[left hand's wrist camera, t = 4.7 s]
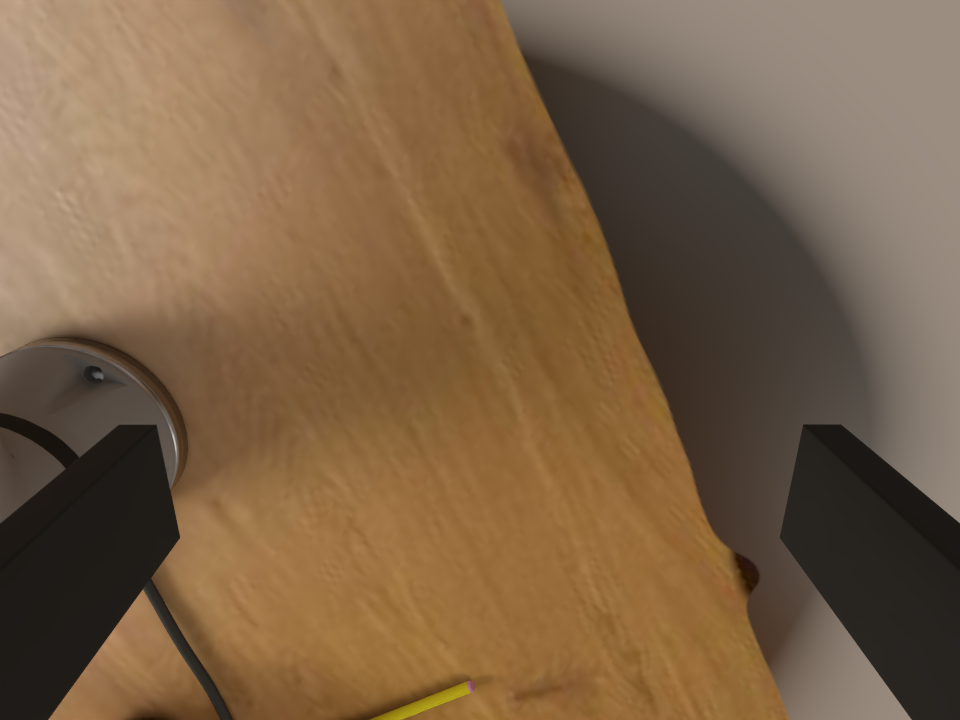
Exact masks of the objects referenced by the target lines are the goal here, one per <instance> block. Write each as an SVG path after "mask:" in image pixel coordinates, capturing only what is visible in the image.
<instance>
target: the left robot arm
mask: <svg viewBox="0 0 960 720" xmlns="http://www.w3.org/2000/svg"><path fill="white" fill-rule="evenodd" d="M186 458H187V434H186V430H185V425H184V422H183V419H182V416H181V414H180V412H179V409H178V407H177V405H176V404H175V402H174V400H173V398H172V397H171V395H170V394H169V393H168V391H167V390H166V389H165V387H164V386H163V385H162V384H161V382H160V381H159V380H158V379H157V378H156V377H155V376H154V375H153V374H152V373H150V372H149V371H148V370H147V369H146V368H145V367H143V366H142V365H141V364H139V363H138V362H137V361H135V360H133V359H132V358H130V357H129V356H127V355H125V354H123V353H121V352H119V351H117V350H115V349H113V348H110V347H108V346H105V345H102V344H99V343H96V342H92V341H88V340H82V339H76V338H51V339H44V340H39V341H35V342H32V343H29V344H26V345H24V346H22V347H20V348H18V349H16V350H14V351H12V352H10V353H8V354H6V355H4V356H1V357H0V720H48V719H49V718H50V716H51V715H52V714H53V712H54V711H55V709H56V708H57V707H58V705H59V704H60V703H61V701H62V700H63V698H64V697H65V696H66V694H67V693H68V692H69V690H70V689H71V687H72V686H73V685H74V683H75V682H76V681H77V679H78V678H79V676H80V675H81V674H82V672H83V671H84V670H85V668H86V667H87V665H88V664H89V663H90V661H91V660H92V658H93V657H94V656H95V654H96V653H97V652H98V650H99V649H100V647H101V646H102V645H103V643H104V642H105V641H106V639H107V638H108V636H109V635H110V634H111V632H112V631H113V630H114V628H115V627H116V625H117V624H118V623H119V621H120V620H121V618H122V617H123V616H124V614H125V613H126V612H127V610H128V609H129V607H130V606H131V605H132V603H133V602H134V601H135V599H136V598H137V596H138V595H139V594H140V592H141V591H142V590H144V591H145V593H146V595H147V597H148V598H149V600H150V602H151V604H152V605H153V607H154V609H155V611H156V613H157V614H158V616H159V618H160V620H161V621H162V623H163V625H164V627H165V628H166V630H167V632H168V634H169V635H170V637H171V639H172V640H173V642H174V644H175V645H176V647H177V648H178V650H179V652H180V653H181V655H182V656H183V658H184V659H185V661H186V662H187V664H188V665H189V667H190V668H191V670H192V671H193V673H194V674H195V676H196V677H197V679H198V680H199V682H200V683H201V685H202V686H203V688H204V690H205V691H206V693H207V695H208V696H209V698H210V700H211V702H212V704H213V705H214V707H215V709H216V711H217V713H218V715H219V717H220V719H221V720H232V717H231V715H230V713H229V711H228V709H227V707H226V705H225V703H224V701H223V699H222V697H221V695H220V693H219V692H218V690H217V688H216V686H215V685H214V683H213V681H212V680H211V678H210V676H209V675H208V673H207V672H206V670H205V669H204V667H203V666H202V664H201V663H200V661H199V660H198V658H197V656H196V655H195V653H194V652H193V650H192V649H191V647H190V646H189V644H188V643H187V641H186V639H185V638H184V636H183V634H182V633H181V631H180V629H179V628H178V626H177V624H176V622H175V621H174V619H173V617H172V615H171V613H170V612H169V610H168V608H167V606H166V604H165V603H164V601H163V599H162V597H161V595H160V594H159V592H158V590H157V588H156V587H155V585H154V583H153V581H152V580H151V577H152V576H153V574H154V573H155V572H156V570H157V569H158V567H159V566H160V565H161V563H162V562H163V561H164V559H165V558H166V556H167V555H168V554H169V552H170V551H171V550H172V548H173V547H174V545H175V544H176V543H177V541H178V540H179V539H180V535H179V530H178V525H177V520H176V515H175V510H174V506H173V501H172V496H171V490H172V489H173V488H174V486H175V485H176V483H177V482H178V480H179V478H180V476H181V475H182V472H183V469H184V467H185V463H186ZM780 539H781V540H782V541H783V543H784V544H785V545H786V547H787V548H788V550H789V551H790V552H791V554H792V555H793V556H794V558H795V559H796V561H797V562H798V563H799V565H800V566H801V567H802V569H803V570H804V572H805V573H806V574H807V576H808V577H809V579H810V580H811V581H812V583H813V584H814V585H815V587H816V588H817V590H818V591H819V592H820V594H821V595H822V596H823V598H824V599H825V601H826V602H827V603H828V605H829V606H830V607H831V609H832V610H833V612H834V613H835V614H836V616H837V617H838V618H839V620H840V621H841V623H842V624H843V625H844V627H845V628H846V629H847V631H848V632H849V634H850V635H851V636H852V638H853V639H854V641H855V642H856V643H857V645H858V646H859V647H860V649H861V650H862V652H863V653H864V654H865V656H866V657H867V658H868V660H869V661H870V663H871V664H872V665H873V667H874V668H875V670H876V671H877V672H878V674H879V675H880V676H881V678H882V679H883V681H884V682H885V683H886V685H887V686H888V687H889V689H890V690H891V692H892V693H893V694H894V696H895V697H896V698H897V700H898V701H899V703H900V704H901V705H902V707H903V708H904V709H905V711H906V712H907V714H908V715H909V716H910V718H911V719H912V720H960V523H959V522H957V521H956V520H955V519H954V518H953V517H951V516H950V515H949V514H948V513H947V512H945V511H944V510H943V509H942V508H941V507H939V506H938V505H937V504H936V503H935V502H933V501H932V500H931V499H930V498H929V497H927V496H926V495H925V494H924V493H923V492H921V491H920V490H919V489H918V488H917V487H915V486H914V485H913V484H912V483H911V482H909V481H908V480H907V479H906V478H905V477H903V476H902V475H901V474H900V473H899V472H897V471H896V470H895V469H894V468H893V467H891V466H890V465H889V464H888V463H887V462H885V461H884V460H883V459H882V458H881V457H879V456H878V455H877V454H876V453H875V452H873V451H872V450H871V449H870V448H869V447H867V446H866V445H865V444H864V443H863V442H861V441H860V440H859V439H858V438H857V437H855V436H854V435H853V434H852V433H851V432H849V431H848V430H847V429H846V428H844V427H843V426H842V425H803V429H802V433H801V438H800V443H799V448H798V453H797V458H796V463H795V467H794V472H793V477H792V482H791V487H790V491H789V496H788V501H787V506H786V510H785V515H784V520H783V525H782V530H781V535H780Z"/></svg>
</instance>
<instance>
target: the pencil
mask: <svg viewBox="0 0 960 720" xmlns="http://www.w3.org/2000/svg"><path fill="white" fill-rule="evenodd" d="M472 692H474V684H473V682H472V681H471V680H469V681H466V682H464V683H461V684H459V685H456V686H454V687H451V688H449V689H446V690H443V691H441V692H438V693H436V694H433V695H431V696H428V697H426V698H423V699H420V700H418V701H415V702H413V703H410V704H408V705H405V706H403V707H400V708H398V709H395V710H392V711H390V712H387V713H385V714H382V715H380V716H377V717H375V718H372V719H370V720H402V719H404V718H407V717H410V716H412V715H415V714H417V713H420V712H422V711H425V710H428V709H430V708H433V707H435V706H438V705H440V704H443V703H446V702H448V701H451V700H453V699H456V698H459V697H461V696H464V695H466V694H469V693H472Z"/></svg>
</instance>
